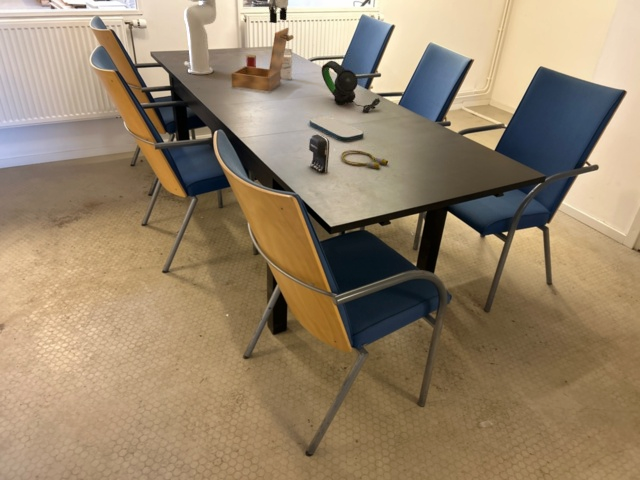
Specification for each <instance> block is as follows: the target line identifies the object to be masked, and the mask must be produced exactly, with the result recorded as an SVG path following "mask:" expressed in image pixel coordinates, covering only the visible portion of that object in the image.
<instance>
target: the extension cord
mask: <svg viewBox="0 0 640 480" xmlns="http://www.w3.org/2000/svg"><path fill="white" fill-rule="evenodd" d="M353 154H354V155H356V154H357V155H366V156H369V157H370V158H371V159H372V160H371V161H369V162H368V161H367V162H366V163H365V162H356V161H350V160H348V159H346V158H345V157H346V156H348V155H353ZM341 159H342V161H343V162H344V163H345V164H348V165H352V166H357V167H361V166H362V167H363V166H366V167H369V168H371V169H379V168H380V164H381V165H386V166H387V165H388V163H389V160H388V159H385V158H383V157H374V155H373V154H371V153H370V152H366V151H363V150H355V149H350V150H349V149H348V150H343V152H341ZM375 161H376V162H375Z"/></svg>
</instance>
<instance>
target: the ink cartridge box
mask: <svg viewBox="0 0 640 480" xmlns="http://www.w3.org/2000/svg"><path fill="white" fill-rule="evenodd" d="M292 72H293V49H292V48H286V47H285V53H284V58H283V64H282V70H281V79H283V80H284V79H285V80H292Z"/></svg>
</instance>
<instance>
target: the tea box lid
mask: <svg viewBox="0 0 640 480" xmlns="http://www.w3.org/2000/svg"><path fill="white" fill-rule="evenodd" d="M289 29H290V28H289V27H286V28H283V29H280V30H279V31H276V32H275V33H274V36H273V43H272V49H271V54H270V55H271V56H270V61H269V68H268V69H269V74H268V77H271V76H273V75H274V74H276V73H277V72H279V71H281V70H282V64H283V58H284V53H285V52H286V51H285V48H286V46H287V42H290V41H291V40H294V35H293V34H290V35H289Z"/></svg>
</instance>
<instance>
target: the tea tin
mask: <svg viewBox="0 0 640 480" xmlns="http://www.w3.org/2000/svg"><path fill="white" fill-rule="evenodd" d="M245 63H246V64H245V66H248V67H256V68H257V55H256V54H246V55H245Z"/></svg>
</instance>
